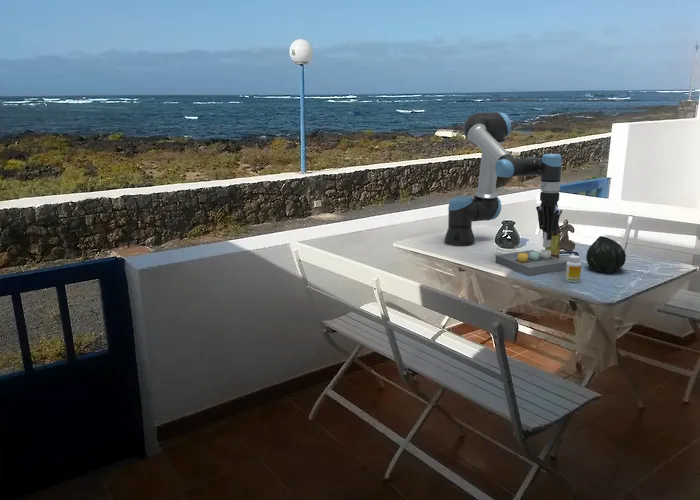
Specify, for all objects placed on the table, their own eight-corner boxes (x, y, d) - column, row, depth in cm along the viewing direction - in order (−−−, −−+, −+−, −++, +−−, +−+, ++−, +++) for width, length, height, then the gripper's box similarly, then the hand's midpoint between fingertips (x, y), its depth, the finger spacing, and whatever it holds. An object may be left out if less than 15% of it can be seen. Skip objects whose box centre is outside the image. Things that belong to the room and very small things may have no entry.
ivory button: (538, 259, 227) (538, 250, 226) (545, 258, 229) (546, 249, 228) (544, 261, 224) (545, 252, 223) (552, 260, 225) (552, 251, 224)
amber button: (515, 262, 223) (516, 253, 222) (523, 261, 225) (523, 252, 224) (521, 264, 220) (522, 255, 219) (529, 263, 221) (530, 254, 220)
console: (495, 262, 233) (495, 255, 232) (531, 257, 240) (532, 249, 239) (529, 275, 213) (529, 267, 212) (567, 269, 220) (568, 261, 219)
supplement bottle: (583, 281, 205) (585, 257, 202) (571, 283, 203) (573, 259, 201) (573, 277, 210) (575, 254, 207) (562, 279, 208) (563, 255, 205)
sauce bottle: (560, 259, 236) (563, 215, 231) (545, 259, 237) (548, 215, 232) (557, 255, 242) (561, 213, 237) (543, 255, 243) (546, 212, 238)
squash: (639, 260, 212) (619, 228, 218) (615, 267, 206) (595, 234, 211) (614, 275, 224) (595, 245, 229) (590, 282, 217) (571, 251, 223)
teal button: (527, 260, 225) (527, 251, 224) (534, 259, 227) (535, 250, 226) (533, 263, 222) (534, 253, 221) (541, 261, 223) (541, 252, 222)
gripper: (531, 190, 224) (529, 244, 229) (554, 194, 212) (550, 251, 217) (546, 189, 226) (542, 242, 232) (568, 192, 214) (564, 249, 220)
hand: (546, 246), depth 225 cm, fingers closed
